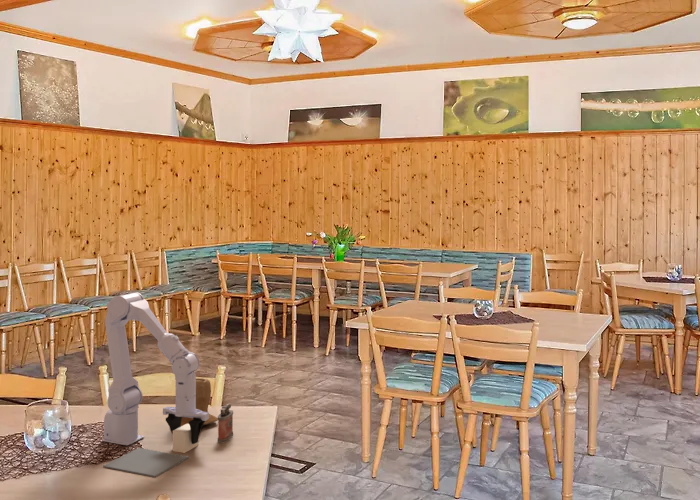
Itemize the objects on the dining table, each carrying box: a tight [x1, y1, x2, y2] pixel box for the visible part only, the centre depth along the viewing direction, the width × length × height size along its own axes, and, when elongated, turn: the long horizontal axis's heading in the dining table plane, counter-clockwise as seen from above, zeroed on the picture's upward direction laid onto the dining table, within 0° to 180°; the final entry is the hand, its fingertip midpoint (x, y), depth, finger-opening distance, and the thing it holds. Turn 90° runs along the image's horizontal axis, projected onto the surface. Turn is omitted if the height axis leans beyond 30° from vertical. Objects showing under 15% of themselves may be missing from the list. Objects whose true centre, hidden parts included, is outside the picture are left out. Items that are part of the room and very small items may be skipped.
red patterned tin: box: [217, 403, 234, 443], centre depth 217 cm, size 8×3×10 cm, turn 168°
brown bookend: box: [180, 377, 218, 427], centre depth 228 cm, size 15×12×15 cm
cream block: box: [172, 424, 199, 454], centre depth 208 cm, size 4×7×6 cm, turn 158°
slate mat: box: [103, 447, 190, 478], centre depth 197 cm, size 17×15×1 cm
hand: (185, 441), depth 208 cm, fingers open, 6 cm apart
